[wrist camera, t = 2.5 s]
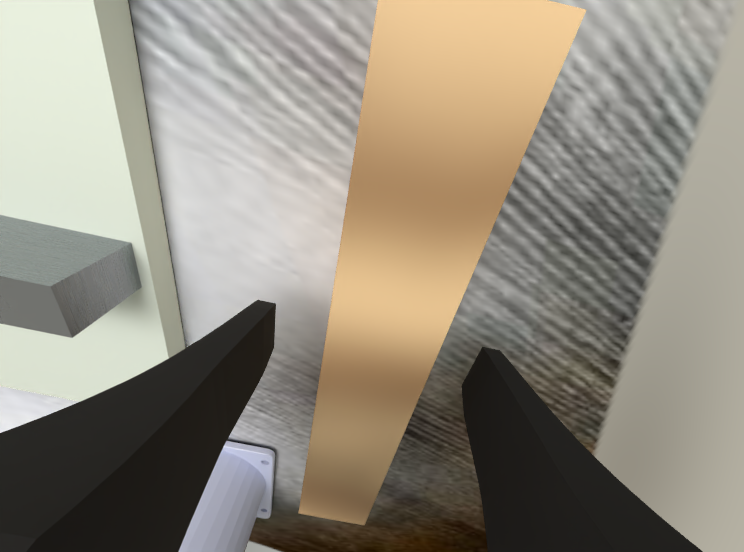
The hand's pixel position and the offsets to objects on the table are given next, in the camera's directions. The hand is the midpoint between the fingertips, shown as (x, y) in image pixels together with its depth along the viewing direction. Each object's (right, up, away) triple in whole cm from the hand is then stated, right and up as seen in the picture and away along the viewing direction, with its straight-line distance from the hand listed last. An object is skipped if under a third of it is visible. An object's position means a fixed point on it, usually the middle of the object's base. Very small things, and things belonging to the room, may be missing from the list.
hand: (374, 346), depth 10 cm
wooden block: (0, +2, +3) cm, 3 cm away
